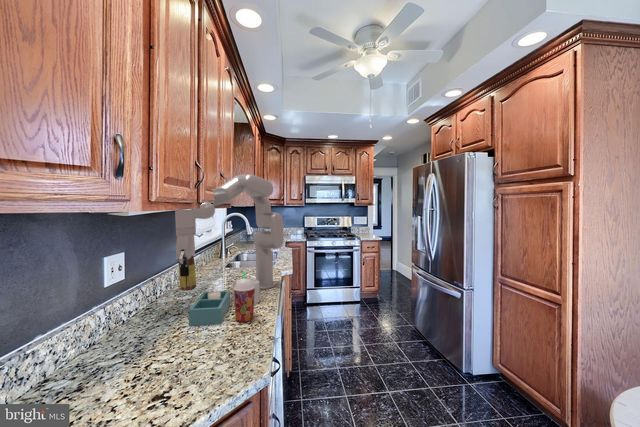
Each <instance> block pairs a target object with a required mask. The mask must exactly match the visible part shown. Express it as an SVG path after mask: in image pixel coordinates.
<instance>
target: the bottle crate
mask: <svg viewBox="0 0 640 427" xmlns="http://www.w3.org/2000/svg"><path fill="white" fill-rule="evenodd" d="M218 291H219V292H221V299H208V293H210V292H211V291H203V293H202V294H201V295H200V296H199V297H198V299H197V300H196V301H195V302H194V303H193V305H192V306H191V307H190V308H189V310H188V326H189V327H194V326H195V327H196V326H209V325H211V326H212V325H221V324H222V322H223V320H224V318H225V315H226V313H227V311H229V307H230V306H231V290H218Z"/></svg>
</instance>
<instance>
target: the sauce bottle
mask: <svg viewBox="0 0 640 427" xmlns="http://www.w3.org/2000/svg"><path fill="white" fill-rule="evenodd" d="M184 259H186V258H184ZM177 261H178V273H179V274H178V276H179V287H180V290H181V291H187V292H188V291H192V290H195V289H196V287H197V277H196V275H197V274H196V263H195V257H193V256H192V257H191V258H190V259H188V266H189V276H180V262H179V260H177ZM185 263H186V261H185Z"/></svg>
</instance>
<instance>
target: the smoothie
mask: <svg viewBox="0 0 640 427" xmlns="http://www.w3.org/2000/svg"><path fill="white" fill-rule="evenodd" d="M242 276H243V277H242V278H240V279H238V280H237V281H236V283H235V286H234V287H233V286H232V291H233V290H234V301H233V303H234V316H235V320H236V321H237V322H239V323H246V322H250V321H252V320H253V318H254V308H255V304H254V296H255V286H254V284H253V282H252V281H251V280H250V278H247V277H246V271H244V270H243V273H242Z"/></svg>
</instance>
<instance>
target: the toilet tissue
mask: <svg viewBox="0 0 640 427" xmlns="http://www.w3.org/2000/svg"><path fill="white" fill-rule="evenodd" d="M249 279H250V278H249ZM250 280H251V281H252V282H253V284H254V286H255V296H254V305H257V304H258V303H259V302H260V290H261V289H259V286H260V285H259V281H258V280H256V279H253V278H251V279H250ZM235 284H236V283H235V282H234V281H232V288H233V287H234V286H235ZM232 302H234V290H233V289H232Z"/></svg>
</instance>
